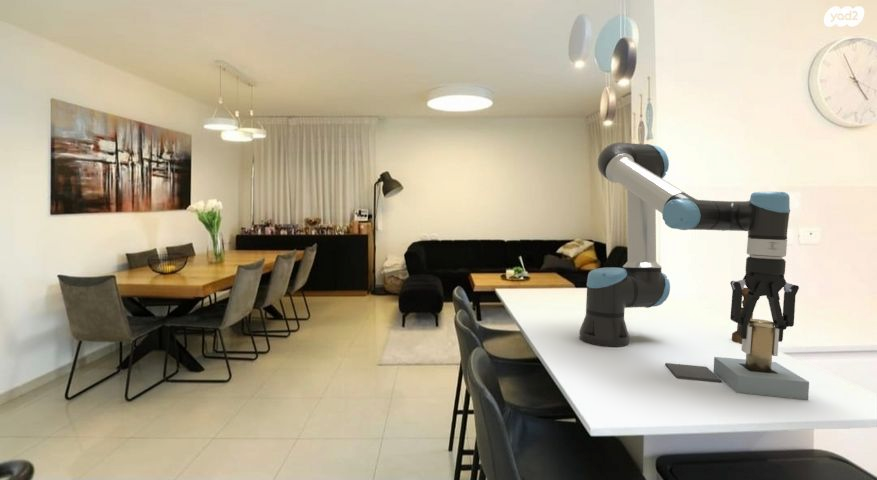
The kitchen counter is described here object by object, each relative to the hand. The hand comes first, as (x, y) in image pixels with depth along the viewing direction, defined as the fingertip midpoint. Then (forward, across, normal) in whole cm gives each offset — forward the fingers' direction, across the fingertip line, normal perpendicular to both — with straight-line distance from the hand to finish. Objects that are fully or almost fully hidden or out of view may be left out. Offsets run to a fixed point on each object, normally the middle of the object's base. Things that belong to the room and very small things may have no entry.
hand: (759, 353), depth 105 cm
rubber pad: (+8, -13, +4) cm, 16 cm away
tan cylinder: (+5, 0, 0) cm, 5 cm away
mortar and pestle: (+8, +15, +43) cm, 47 cm away
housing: (+8, 0, 0) cm, 8 cm away
